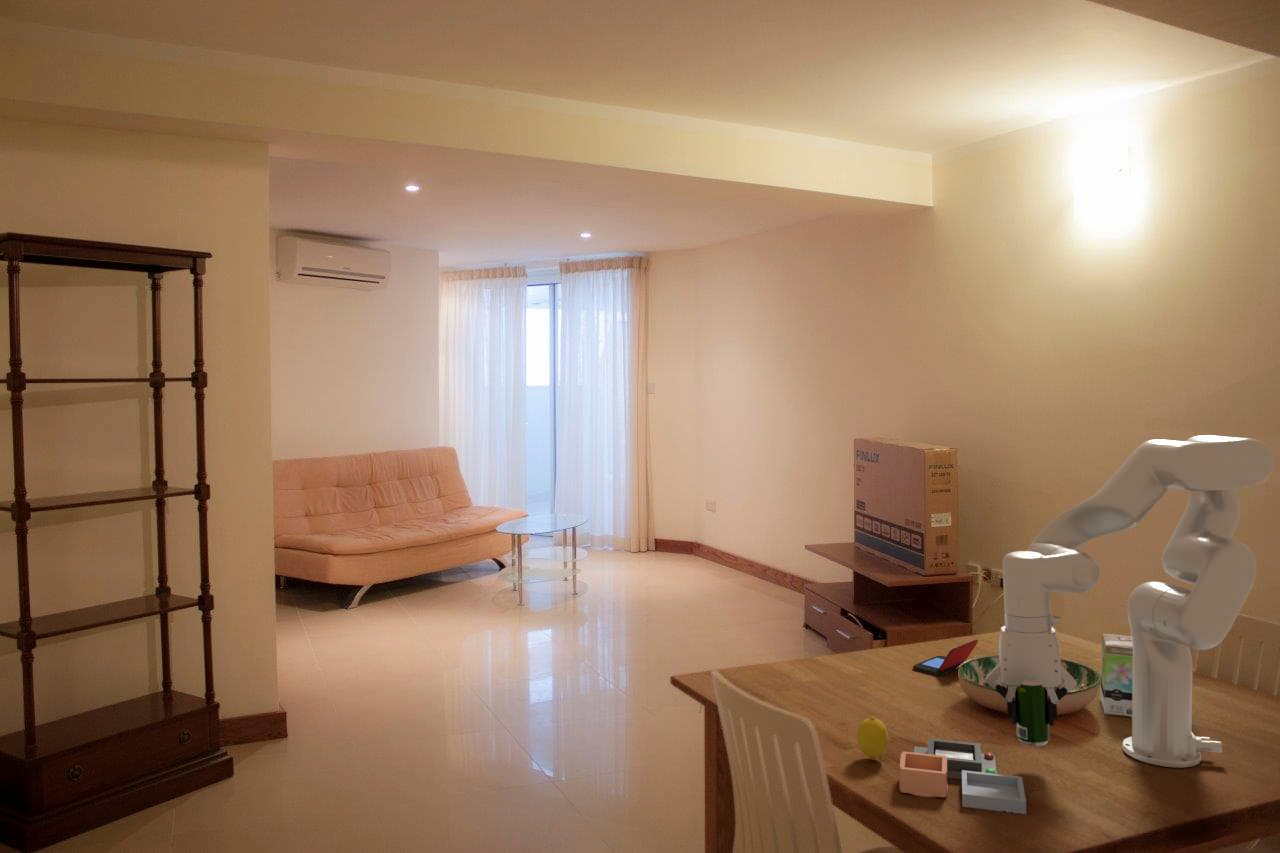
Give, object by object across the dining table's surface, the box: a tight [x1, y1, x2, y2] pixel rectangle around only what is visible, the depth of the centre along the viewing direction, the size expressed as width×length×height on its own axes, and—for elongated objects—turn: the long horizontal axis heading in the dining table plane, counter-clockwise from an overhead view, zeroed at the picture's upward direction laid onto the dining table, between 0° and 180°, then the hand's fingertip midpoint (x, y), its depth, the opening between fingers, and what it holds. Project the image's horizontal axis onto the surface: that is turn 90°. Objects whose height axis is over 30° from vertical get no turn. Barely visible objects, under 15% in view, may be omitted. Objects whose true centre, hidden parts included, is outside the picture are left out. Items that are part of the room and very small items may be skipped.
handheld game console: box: [912, 639, 979, 677], centre depth 222 cm, size 12×11×7 cm
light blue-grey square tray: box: [961, 770, 1027, 815], centre depth 155 cm, size 10×10×2 cm
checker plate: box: [935, 748, 973, 760], centre depth 167 cm, size 6×6×1 cm
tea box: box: [1099, 633, 1133, 718], centre depth 192 cm, size 15×10×15 cm
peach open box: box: [898, 750, 949, 798], centre depth 159 cm, size 8×8×4 cm
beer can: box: [1014, 679, 1050, 747], centre depth 166 cm, size 5×5×12 cm
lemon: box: [856, 716, 889, 761], centre depth 170 cm, size 6×6×8 cm
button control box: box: [913, 738, 998, 780], centre depth 167 cm, size 14×10×3 cm
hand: (1032, 721), depth 166 cm, fingers closed on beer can, 5 cm apart
